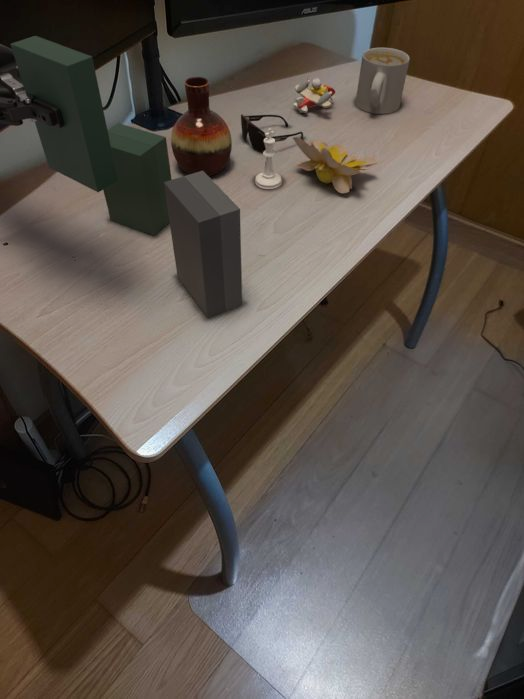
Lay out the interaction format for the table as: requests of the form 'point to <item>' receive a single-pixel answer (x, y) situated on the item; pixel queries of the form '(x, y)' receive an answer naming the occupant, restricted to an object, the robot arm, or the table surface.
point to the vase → (200, 133)
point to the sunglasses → (260, 131)
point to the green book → (68, 110)
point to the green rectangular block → (138, 179)
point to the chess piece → (268, 166)
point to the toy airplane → (313, 95)
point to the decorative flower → (332, 163)
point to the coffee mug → (382, 80)
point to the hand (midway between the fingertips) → (74, 112)
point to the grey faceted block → (205, 241)
